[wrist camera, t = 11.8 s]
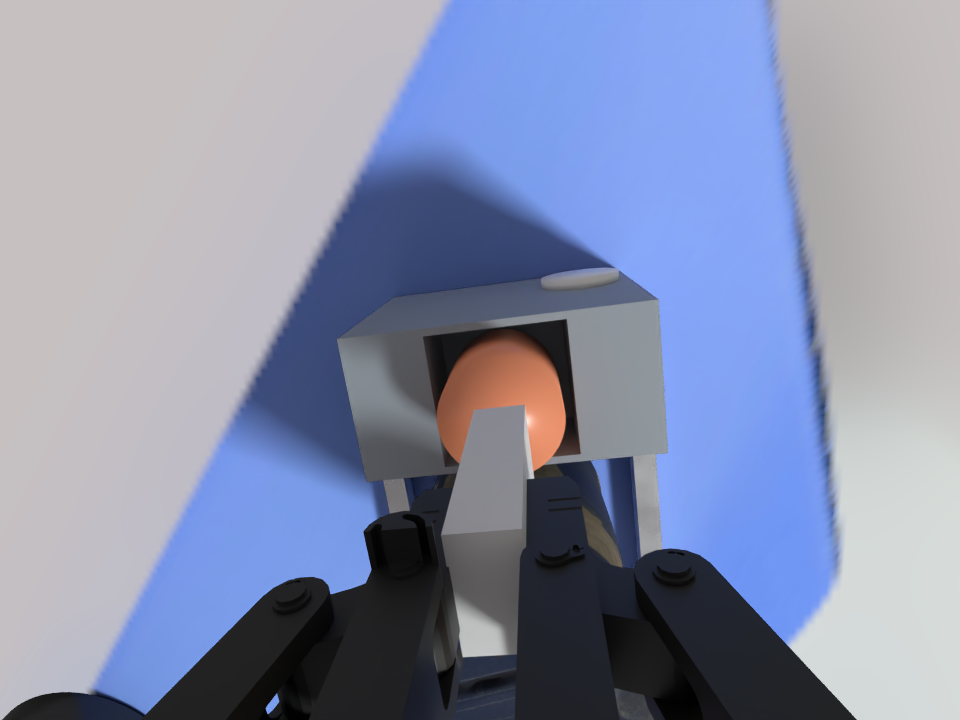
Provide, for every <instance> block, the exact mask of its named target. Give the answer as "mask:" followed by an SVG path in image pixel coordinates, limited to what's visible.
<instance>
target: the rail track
mask: <svg viewBox="0 0 960 720" xmlns="http://www.w3.org/2000/svg"><path fill="white" fill-rule="evenodd" d="M629 459H630V471H631V484H632V496H633V509H634V521H635V533H636V546H637V558H638V560H639V559H640V558H641V557H642V556H643V555H644V554H647V553H650V552H653V551H655V550H661V549H662V539H661V525H660V510H659V496H658V481H657V466H656V454H652V455H642V456H631V457H629ZM383 482H384V487H385V492H386V497H387V502H388V507H389V512H390V514H391V513H395V512H400V511H410V508H411V505H412V503H413V501H414V500H415V497H414V492H413V487H412V481H411V478H402V479H392V480H383Z"/></svg>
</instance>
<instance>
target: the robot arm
mask: <svg viewBox="0 0 960 720" xmlns="http://www.w3.org/2000/svg"><path fill="white" fill-rule="evenodd" d="M364 537H365V541H366V546H367V550H368V555H369V560H370V564H371V569H372V570H371V573H370V575H369V577H368V580H367V582H366V583H365V584H363V585H361V586H358V587H355V588H352V589H349V590H345V591H342V592H338V593H335V594H331V595H330V591H329V587H328V585H327V584H326V583H325V582H324V581H323V580H322V579H318V578H315V577H303V578H296V579H294V580H293V579H292V580H289V581H286V582H284V583H283V584H281V585H279V586H277V587H275V588H273V589H272V590H270V591H269V592H268V593H267V594H265V595H264V596H263V597H262V598H261V599H260V600H259V601H258V602H257V603H256V604H255V605H254V606H253V607H252V608H251V609H250V610H249V611H248V612H247V613H246V614H245V615H244V616H243V617H242V618H241V619H240V620H239V621H238V622H237V623H236V624H235V625H234V626H233V627H232V628H231V629H230V630H229V631H228V632H227V633H226V634H225V635H224V636H223V637H222V638H221V639H220V640H219V641H218V642H217V643H216V644H215V645H214V646H213V647H212V648H211V649H210V650H209V651H208V652H207V653H206V654H205V655H204V656H203V657H202V658H201V659H200V660H199V661H198V662H197V663H196V665H195V666H194V667H193V668H192V669H191V670H190V671H189V672H188V673H187V674H186V675H185V676H184V677H183V678H182V679H181V680H180V681H179V682H178V683H177V684H176V685H175V686H174V687H173V688H172V689H171V690H170V691H169V692H168V693H167V694H166V695H165V696H164V697H163V698H162V699H161V700H160V701H159V702H158V703H157V704H156V705H155V706H154V707H153V708H152V709H151V710H150V711H149V712H148V713H147V714H146V715H145V716H144V717H143V716H141V715H140V714H138V713H137V712H135V711H133V710H131V709H129V708H127V707H125V706H123V705H121V704H119V703H116V702H114V701H111V700H108V699H105V698H102V697H98V696H94V695H89V694H83V693H72V692H61V693H51V694H45V695H41V696H37V697H34V698H32V699H29V700H27V701H25V702H23V703H21V704H20V705H18V706H17V707H15V708H14V709H13V710H12V711H10V713H9V714H8V715H6V716H5V717H4V719H3V720H454V716H455V709H456V702H457V695H458V688H459V681H460V676H459V667H458V662H457V656H456V652H457V646H458V640H459V639H460V645H461V650H462V656H463V657H477V656H495V655H514V654H517V662H516V693H515V720H620V719H619V713H618V707H617V701H616V696H615V690H614V688H616V689H620V690H624V691H629V692H633V693H637V694H642V695H644V697H645V700H646V704H647V707H648V709H649V711H650V713H651V715H652V716H653V718H654V720H856V719H855V718H854V716H852V714H851V713H850V712H849V711H848V710H847V709H846V708H845V707H844V706H843V705H842V703H841V702H840V701H839V700H838V699H837V698H836V697H835V696H834V695H833V694H832V693H831V692H830V691H829V690H828V688H827V687H826V686H825V685H824V684H823V683H822V682H821V681H820V680H819V679H818V678H817V677H816V676H815V675H814V674H813V673H812V671H811V670H810V669H809V668H808V667H807V666H806V665H805V664H804V663H803V662H802V661H801V660H800V658H799V657H798V656H797V655H796V654H795V653H794V652H793V651H792V650H791V649H790V648H789V647H788V646H787V645H786V643H785V642H784V641H783V640H782V639H781V638H780V637H779V636H778V635H777V634H776V633H775V632H774V631H773V630H772V628H771V627H770V626H769V625H768V624H767V623H766V622H765V621H764V620H763V619H762V618H761V617H760V616H759V615H758V613H757V612H756V611H755V610H754V609H753V608H752V607H751V606H750V605H749V604H748V603H747V602H746V601H745V600H744V598H743V597H742V596H741V595H740V594H739V593H738V592H737V591H736V590H735V589H734V588H733V587H732V586H731V585H730V583H729V582H728V581H727V580H726V579H725V578H724V577H723V576H722V575H721V574H720V573H719V572H718V571H717V570H716V568H715V567H714V566H713V565H712V564H711V563H710V562H708V561H707V560H706V559H704V558H703V557H701V556H700V555H697V554H695V553H692V552H689V551H686V550H679V549H661V550H655V551H653V552H650V553H647V554H644V555H643V556H642V557H641V558H640V559H639V560H638V561H637V562H636V565H635V568H634V569H630V568H623V567H619V566H614V565H611V564H609V563H606V562H604V561H602V560H600V559H599V558H597V557H596V556H595V555H594V554H593V553H592V552H591V550H590V547H589V545H588V539H587V533H586V527H585V521H584V516H583V510H582V504H581V498H580V492H579V486H578V484H577V483H576V482H574V481H573V480H572V479H571V478H570V477H569V476H558V477H546V478H535V479H534V473H533V465H532V457H531V449H530V441H529V434H528V426H527V418H526V410H525V405H516V406H506V407H497V408H487V409H477V410H474V411H473V415H472V419H471V423H470V427H469V430H468V434H467V438H466V442H465V446H464V449H463V453H462V457H461V461H460V465H459V468H458V472H457V476H456V480H455V484H454V487H451V488H440V489H429V490H425V491H424V492H422V493H421V494H420V495H419V496H418V497H417V498H416V499H415V500H414V501H413V503H412V505H411V508H410V511H400V512H395V513H391V514H388V515H386V516H383V517H380V518H378V519H377V520H375V521H374V522H372V523H371V524H369V526H368V527H367V528H366V529H365V531H364ZM276 694H278V698H279V701H280V702H279V703H278V704H277V706H276V707H275V708H274V710H273V711H272V712H270V713H269V714H267V712H266V709H265V708H266V707H267V705H268V704H269V703H270V701H271V700H272V699H273V697H274V696H275V695H276Z"/></svg>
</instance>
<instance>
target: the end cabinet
mask: <svg viewBox="0 0 960 720" xmlns="http://www.w3.org/2000/svg"><path fill="white" fill-rule="evenodd" d="M498 329H512V330H517V331H521V332H524V333H526V334H528V335H530V336H532V337H534V338H535V339H537V340H538V341H539V342H541V343H542V344H543V345H544V346H545V347H546V348H547V350H548V351H549V352H550V354H551V355H552V357H553V359H554V362H555V364H556V367H557V372H558V377H559V382H560V387H561V393H562V398H563V403H564V408H565V415H566V424H565V431H564V435H563V438H562V441H561V443H560V445H559V447H558V449H557V451H556V452H555V453H554V455H553V456H552V457H551V458H550V459H549V460H548V461H547V462H546V463H545V464H544V465H548V464H558V463H569V462H579V461H590V460H600V459H611V458H621V457H631V456H642V455H652V454H663V453H668V444H667V428H666V412H665V396H664V380H663V364H662V348H661V332H660V316H659V300H658V299H657V298H656V297H654V296H653V295H652V294H650V293H649V292H648V291H646V290H645V289H644V288H642V287H641V286H639V285H638V284H637V283H635V282H634V281H633V280H631V279H630V278H629V277H627V276H626V275H625V274H623V273H622V272H620V271H619V270H618V269H616V268H589V269H579V270H571V271H565V272H560V273H555V274H551V275H547V276H545V277H542V278H537V279H530V280H522V281H514V282H507V283H499V284H491V285H484V286H476V287H468V288H461V289H453V290H445V291H438V292H430V293H422V294H415V295H407V296H399V297H393V298H392V299H391V300H389V301H388V302H386V303H385V304H384V305H382V306H381V307H380V308H378V309H377V310H376V311H374V312H373V313H372V314H370V315H369V316H368V317H366V318H365V319H363V320H362V321H361V322H359V323H358V324H357V325H355V326H354V327H353V328H351V329H350V330H349V331H347V332H346V333H345V334H343V335H342V336H340V337H339V338H338V339H337V343H338V348H339V353H340V357H341V362H342V367H343V372H344V377H345V381H346V386H347V391H348V396H349V401H350V405H351V410H352V415H353V420H354V425H355V429H356V434H357V439H358V444H359V449H360V454H361V458H362V463H363V468H364V473H365V478H366V482H371V481H381V480H392V479H402V478H413V477H423V476H433V475H444V474H454V473H457V472H458V468H459V465H460V464H459V463H458V462H457V461H456V460H455V459H454V458H453V457H452V456H451V455H450V453H449V452H448V451H447V449H446V448H445V446H444V444H443V442H442V440H441V437H440V435H439V431H438V426H437V409H438V403H439V400H440V397H441V395H442V392H443V390H444V388H445V385H446V383H447V381H448V378H449V376H450V373H451V371H452V369H453V366H454V364H455V362H456V360H457V358H458V356H459V354H460V352H461V351H462V349H463V348H464V347H465V346H466V345H467V344H468V343H469V342H470V341H471V340H473V339H474V338H476V337H477V336H479V335H481V334H483V333H486V332H489V331H492V330H498Z"/></svg>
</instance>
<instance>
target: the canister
mask: <svg viewBox="0 0 960 720" xmlns="http://www.w3.org/2000/svg"><path fill="white" fill-rule="evenodd" d="M533 473H534V479H535V478H546V477H558V476H569V477H570V478H571V479H572V480H573V481H574V482H576V483H577V484H578V486H579V492H580V498H581V504H582V510H583V516H584V521H585V527H586V533H587V539H588V545H589V547H590V550H591V552H592V553H593V554H594V555H595V556H596V557H597V558H599V559H600V560H602V561H604V562H606V563H609V564H611V565H614V566H619V567H623V564H622V558H621V554H620V550H619V547H618V543H617V540H616V536H615V533H614V530H613V526H612V523H611V520H610V517H609V514H608V511H607V508H606V506H605V503H604V500H603V497H602V494H601V487H600V482H599V478H598V475H597V473H596V470H595V468H594V466H593V465H592V463H591V461H579V462H569V463H558V464H548V465H543V466H541V467H540V468H538V469H537V470H535V471H533ZM456 476H457V473H454V474H444V475H438V476H437V479H436V483H435V486H434V488H433V489H440V488H451V487H454V484H455V480H456ZM456 656H457V662H458V667H459V676H460V681H459V688H458V695H457V702H456V709H455V716H454V720H515V693H516V662H517V654H514V655H495V656H477V657H463V656H462V650H461V645H460V639H459V640H458V646H457V652H456ZM614 690H615V696H616V701H617V707H618V713H619V719H620V720H654V718H653V716H652V715H651V713H650V711H649V709H648V707H647V704H646V700H645V697H644V695H642V694H637V693H633V692H629V691H624V690H620V689H616V688H614Z"/></svg>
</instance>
